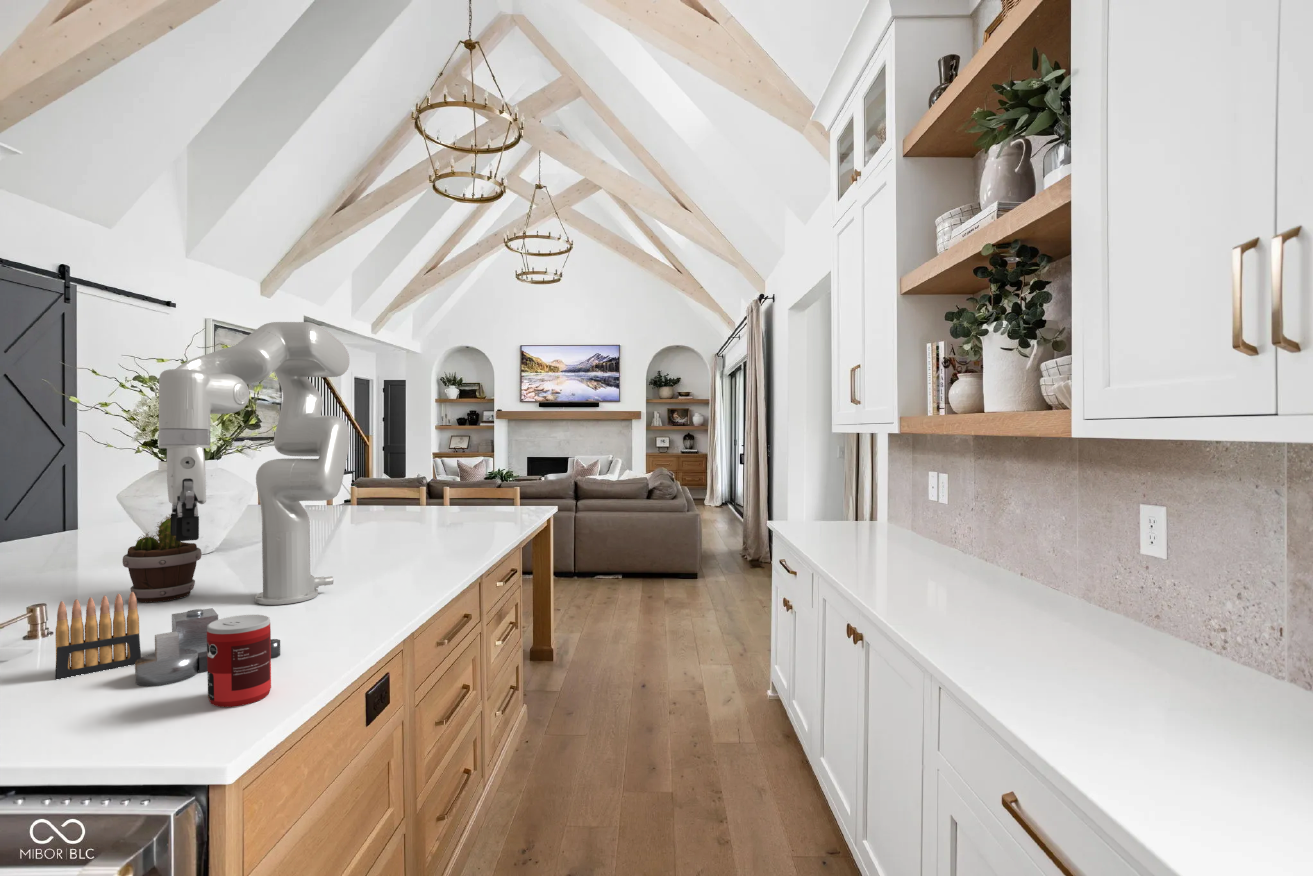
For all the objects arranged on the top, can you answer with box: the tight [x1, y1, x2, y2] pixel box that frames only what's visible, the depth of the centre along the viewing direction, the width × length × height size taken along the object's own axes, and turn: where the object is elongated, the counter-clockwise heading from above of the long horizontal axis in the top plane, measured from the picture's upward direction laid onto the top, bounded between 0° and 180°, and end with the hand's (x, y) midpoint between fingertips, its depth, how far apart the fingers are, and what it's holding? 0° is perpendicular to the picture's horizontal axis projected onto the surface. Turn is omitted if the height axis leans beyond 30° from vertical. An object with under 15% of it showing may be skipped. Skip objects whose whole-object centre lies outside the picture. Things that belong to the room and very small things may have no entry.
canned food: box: [206, 614, 272, 708], centre depth 99 cm, size 8×8×11 cm
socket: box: [171, 607, 219, 653], centre depth 119 cm, size 6×6×7 cm
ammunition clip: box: [54, 591, 142, 680], centre depth 110 cm, size 11×2×12 cm, turn 133°
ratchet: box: [134, 631, 281, 687], centre depth 111 cm, size 20×8×6 cm, turn 131°
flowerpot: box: [122, 513, 202, 603], centre depth 156 cm, size 14×15×20 cm
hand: (184, 537), depth 120 cm, fingers open, 9 cm apart
